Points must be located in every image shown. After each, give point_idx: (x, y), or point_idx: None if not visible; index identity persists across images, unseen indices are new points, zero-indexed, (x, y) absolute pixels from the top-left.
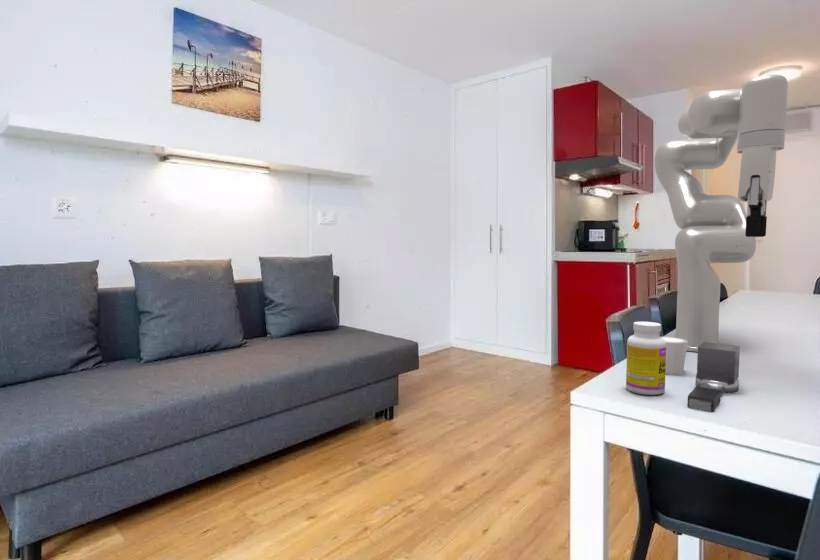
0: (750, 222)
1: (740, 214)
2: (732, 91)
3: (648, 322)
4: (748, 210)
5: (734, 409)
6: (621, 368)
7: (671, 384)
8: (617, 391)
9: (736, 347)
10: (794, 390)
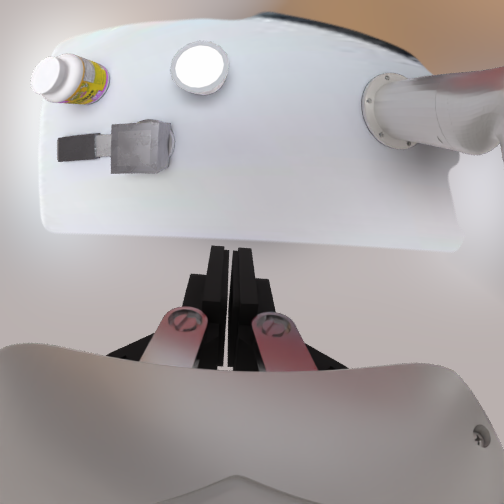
0: (184, 298)
1: None
2: None
3: (53, 71)
4: (154, 337)
5: (82, 173)
6: (184, 25)
7: (134, 96)
8: None
9: (142, 170)
10: (195, 220)
